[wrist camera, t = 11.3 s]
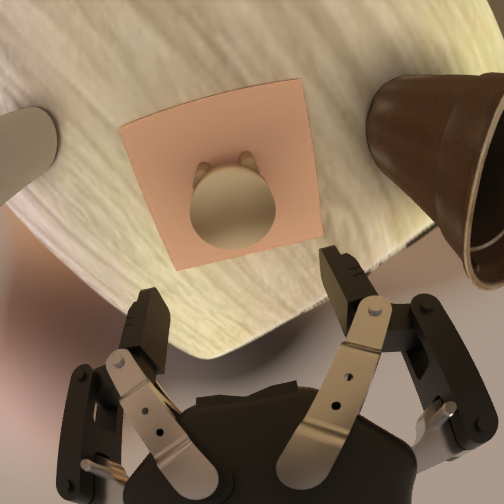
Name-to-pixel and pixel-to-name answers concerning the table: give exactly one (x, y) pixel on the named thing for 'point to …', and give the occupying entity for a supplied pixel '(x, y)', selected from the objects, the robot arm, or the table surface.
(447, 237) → the plant pot
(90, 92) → the table surface
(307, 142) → the mat
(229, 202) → the stool
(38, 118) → the can
